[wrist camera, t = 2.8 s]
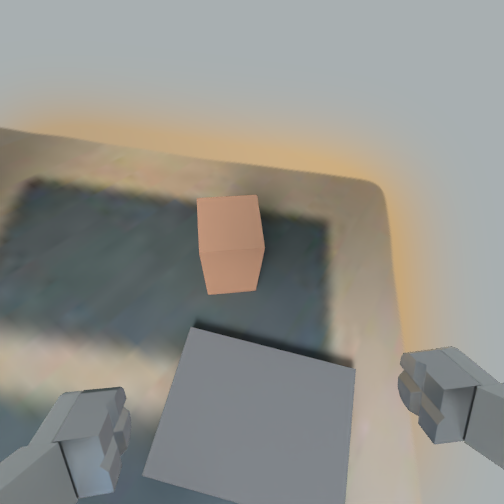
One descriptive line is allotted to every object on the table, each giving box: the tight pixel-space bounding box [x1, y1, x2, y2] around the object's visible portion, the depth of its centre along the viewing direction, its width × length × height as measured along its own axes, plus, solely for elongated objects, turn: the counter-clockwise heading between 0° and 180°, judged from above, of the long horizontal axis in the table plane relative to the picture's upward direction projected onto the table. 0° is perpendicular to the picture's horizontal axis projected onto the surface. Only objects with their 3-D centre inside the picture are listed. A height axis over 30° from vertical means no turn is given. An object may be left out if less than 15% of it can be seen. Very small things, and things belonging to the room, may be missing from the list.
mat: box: [142, 327, 356, 504], centre depth 27 cm, size 16×12×1 cm
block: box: [197, 195, 265, 295], centre depth 29 cm, size 5×5×10 cm
